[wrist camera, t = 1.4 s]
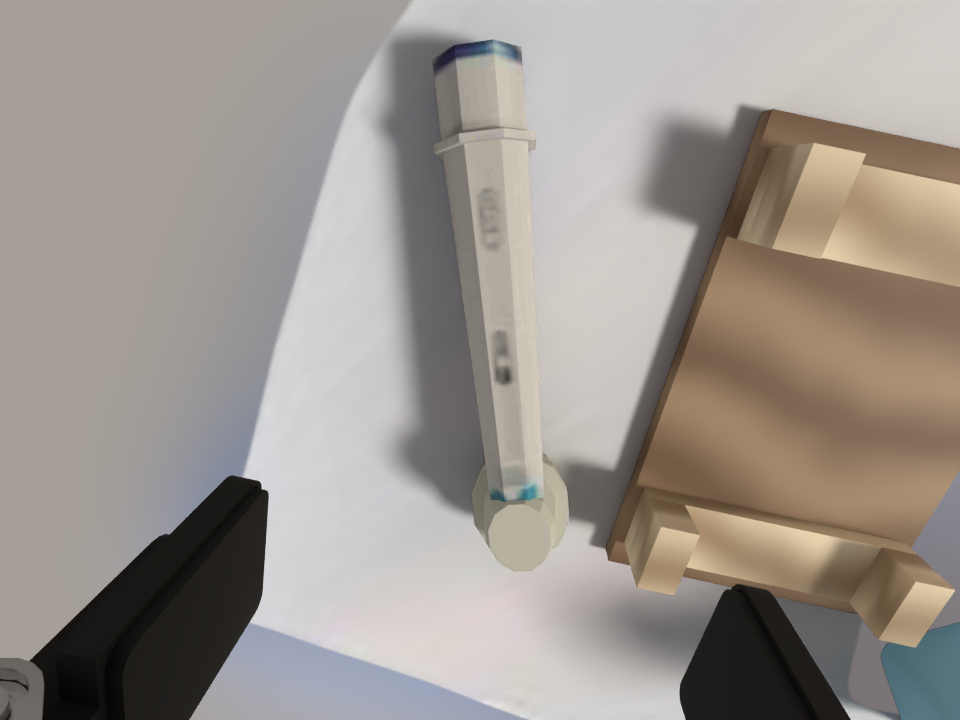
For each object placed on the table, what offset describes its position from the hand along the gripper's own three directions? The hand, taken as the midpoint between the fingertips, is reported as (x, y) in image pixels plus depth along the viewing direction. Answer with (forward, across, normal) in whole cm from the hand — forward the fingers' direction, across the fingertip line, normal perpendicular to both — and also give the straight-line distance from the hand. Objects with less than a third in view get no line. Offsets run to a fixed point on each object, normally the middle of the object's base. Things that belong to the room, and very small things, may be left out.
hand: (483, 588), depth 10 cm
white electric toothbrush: (+18, 0, 0) cm, 18 cm away
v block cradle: (+18, -17, 0) cm, 25 cm away
